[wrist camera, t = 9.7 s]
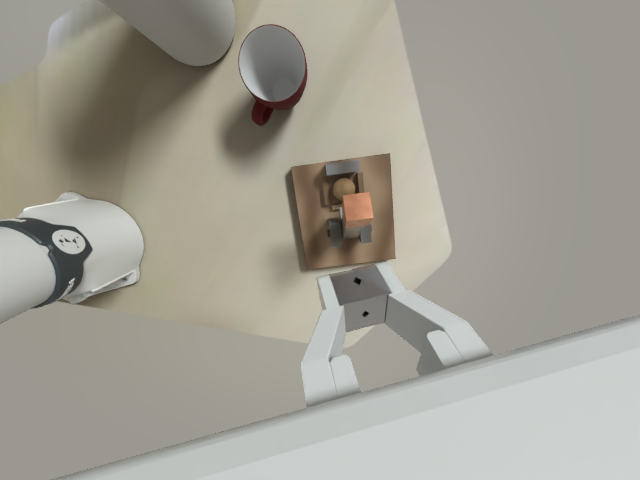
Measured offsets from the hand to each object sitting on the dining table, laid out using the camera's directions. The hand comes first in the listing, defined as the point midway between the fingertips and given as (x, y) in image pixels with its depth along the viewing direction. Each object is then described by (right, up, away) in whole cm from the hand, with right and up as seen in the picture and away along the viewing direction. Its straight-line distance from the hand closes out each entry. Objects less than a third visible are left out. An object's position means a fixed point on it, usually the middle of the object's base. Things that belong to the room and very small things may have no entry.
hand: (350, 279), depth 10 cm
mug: (-8, +24, +29) cm, 38 cm away
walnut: (+2, +10, +30) cm, 32 cm away
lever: (+3, +3, +29) cm, 29 cm away
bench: (+3, +6, +33) cm, 34 cm away
